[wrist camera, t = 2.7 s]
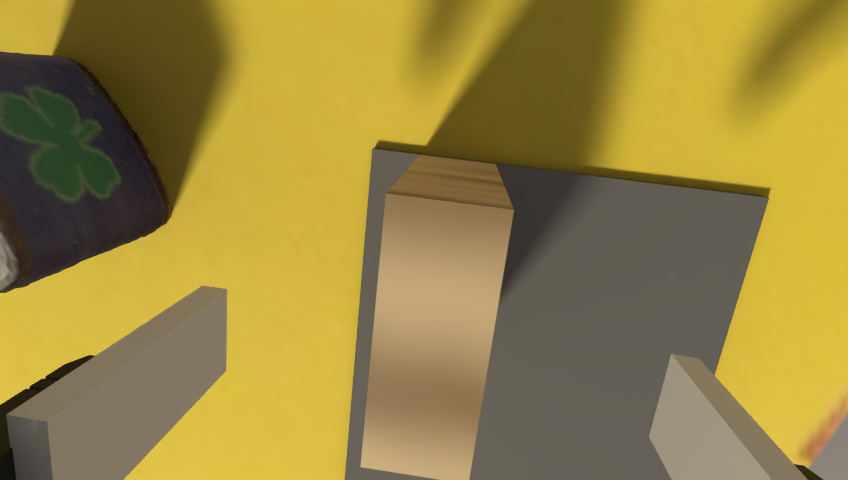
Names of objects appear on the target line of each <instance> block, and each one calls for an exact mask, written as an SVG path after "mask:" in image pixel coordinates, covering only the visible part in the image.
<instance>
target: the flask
mask: <svg viewBox="0 0 848 480" xmlns="http://www.w3.org/2000/svg"><path fill="white" fill-rule="evenodd" d="M170 218H171V204H170V203H169V199H168V194H167V191H166V188H165V187H164V184H163V183H162V181H161V178H160V176H159V173H158V170H157V168H156V166H154V165H153V162H152V157H151V156H149V153H148V150H147V149H146V148H145V147H144V146H143V144H142V143H141V139H140V138H139V137H138V135H137V134H136V133H134V132H133V130H132V129H131V127H130V125H129V123H128V121H127V120H126V119H125V117H124V116H123V115H122V113H121V111H120V110H119V109H118V108H117V105H116V103H114V102H113V101H112V99H111V97H110V96H109V94H108V93H106V90H105V89H104V88H103V87H102V86H101V84H100V82H99V81H98V80H97V79H96V77H95V76H93V75H92V73H90V72H89V71H88V70H87V69H86V68H85V67H84V66H83V65H81V64H79V63H77V62H76V61H75V60H70V59H68V58H65V57H62V56H58V55H53V56H49V55H34V54H21V53H7V52H0V293H6V292H8V291H11V290H13V289H15V288H21V287H25V286H28V285H29V284H31V283H33V282H35V281H38V280H40V279H42V278H44V277H47V276H50V275H52V274H55V273H58V272H60V271H62V270H64V269H66V268H69V267H71V266H74V265H76V264H77V263H79V262H81V261H83V260H86V259H88V258H91V257H93V256H96V255H99V254H101V253H104V252H107V251H110V250H112V249H114V248H116V247H119V246H121V245H123V244H127V243H130V242H132V241H134V240H136V239H138V238H141V237H145V236H147V235H148V234H151V233H153V232H154V231H155V230H157V229H158V228H159V227H161V226H162V225H164V224H166V223H167V222H168V220H169V219H170Z"/></svg>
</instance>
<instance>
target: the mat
mask: <svg viewBox="0 0 848 480" xmlns="http://www.w3.org/2000/svg"><path fill="white" fill-rule="evenodd" d="M420 155H426V154H418V153H410V152H402V151H394V150H385V149H377V148H373V149H372V160H371V172H370V184H369V196H368V208H367V220H366V232H365V244H364V256H363V268H362V280H361V292H360V304H359V316H358V328H357V340H356V352H355V364H354V376H353V388H352V400H351V412H350V424H349V436H348V448H347V460H346V472H345V480H439V479H432V478H426V477H420V476H413V475H407V474H401V473H394V472H388V471H382V470H375V469H369V468H363V467H360V466H361V456H362V445H363V434H364V423H365V413H366V402H367V391H368V380H369V370H370V359H371V348H372V337H373V327H374V316H375V305H376V294H377V284H378V273H379V262H380V251H381V240H382V230H383V219H384V208H385V197H386V193H387V192H388V190H389V189H390V188H391V187H392V186H393V185H394V184H395V183H396V181H397V180H398V179H399V178H400V177H401V176H402V175H403V174H404V172H405V171H406V170H407V169H408V168H409V167H410V166H411V165H412V164H413V162H414V161H415V160H416V159H417V158H418V157H419V156H420ZM426 156H434V155H426ZM434 157H442V156H434ZM442 158H450V157H442ZM450 159H458V158H450ZM458 160H466V159H458ZM466 161H474V160H466ZM474 162H482V161H474ZM482 163H491V162H482ZM491 164H496V166H497V169H498V171H499V174H500V176H501V179H502V181H503V184H504V186H505V189H506V191H507V194H508V196H509V199H510V201H511V204H512V206H513V208H514V213H513V219H512V225H511V231H510V237H509V243H508V249H507V255H506V261H505V267H504V273H503V279H502V286H501V292H500V298H499V304H498V310H497V316H496V322H495V328H494V334H493V340H492V346H491V352H490V358H489V364H488V370H487V376H486V382H485V388H484V394H483V400H482V406H481V412H480V418H479V424H478V430H477V436H476V442H475V448H474V454H473V460H472V466H471V472H470V478H469V480H672V479H671V478H670V476H669V474H668V472H667V470H666V468H665V466H664V464H663V462H662V461H661V459H660V457H659V455H658V453H657V451H656V449H655V447H654V445H653V444H652V442H651V440H650V438H649V434H650V431H651V427H652V423H653V420H654V416H655V412H656V409H657V405H658V401H659V397H660V394H661V390H662V386H663V383H664V379H665V375H666V371H667V368H668V364H669V360H670V357H671V354H675V355H682V356H689V357H695V358H699V359H700V360H701V361H702V362H703V363H704V364H705V366H706V367H707V368H708V369H709V370H710V371H711V372H712V373H713V374H714V375H715V371H716V368H717V365H718V362H719V358H720V355H721V352H722V349H723V346H724V342H725V339H726V336H727V333H728V329H729V326H730V323H731V320H732V316H733V313H734V310H735V307H736V303H737V300H738V297H739V294H740V290H741V287H742V284H743V281H744V277H745V274H746V271H747V268H748V264H749V261H750V258H751V255H752V251H753V248H754V245H755V242H756V238H757V235H758V232H759V229H760V226H761V222H762V219H763V216H764V213H765V209H766V206H767V203H768V200H769V198H768V197H764V196H757V195H749V194H741V193H733V192H725V191H717V190H709V189H701V188H693V187H685V186H676V185H668V184H660V183H652V182H644V181H636V180H628V179H620V178H612V177H604V176H596V175H588V174H579V173H571V172H563V171H555V170H547V169H539V168H531V167H523V166H515V165H507V164H499V163H491Z"/></svg>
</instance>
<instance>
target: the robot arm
mask: <svg viewBox="0 0 848 480" xmlns="http://www.w3.org/2000/svg"><path fill="white" fill-rule="evenodd" d="M226 338H227V289H222V288H215V287H208V286H201V287H200V288H198V289H197V290H195V291H194V292H192V293H191V294H189V295H188V296H186V297H185V298H183V299H182V300H180V301H178V302H177V303H175V304H174V305H172V306H171V307H169V308H168V309H166V310H165V311H163V312H162V313H160V314H159V315H157V316H156V317H154V318H153V319H151V320H150V321H148V322H146V323H145V324H143V325H142V326H140V327H139V328H137V329H136V330H134V331H133V332H131V333H130V334H128V335H127V336H125V337H124V338H122V339H121V340H119V341H118V342H116V343H115V344H113V345H111V346H110V347H108V348H107V349H105V350H104V351H102V352H101V353H99V354H98V355H96V356H92V355H89V356H86V357H83V358H81V359H78V360H75V361H73V362H70V363H67V364H65V365H63V366H62V367H60V368H58V369H57V370H55V371H54V372H52V373H50V374H49V375H47V376H46V378H45V379H41V380H39V381H38V382H36V383H34V384H33V385H31V386H30V388H29V389H25V390H23V391H22V392H20V393H19V394H17V395H15V396H14V397H12V398H11V399H9V400H7V401H6V402H4V403H3V404H1V405H0V480H123V479H124V478H125V477H126V476H127V475H128V474H129V473H130V472H131V471H132V470H133V469H134V468H135V467H136V466H137V465H138V464H139V463H140V461H141V460H142V459H143V458H144V457H145V456H146V455H147V454H148V453H149V452H150V451H151V450H152V449H153V448H154V447H155V446H156V444H157V443H158V442H159V441H160V440H161V439H162V438H163V437H164V436H165V435H166V434H167V433H168V432H169V431H170V430H171V429H172V428H173V426H174V425H175V424H176V423H177V422H178V421H179V420H180V419H181V418H182V417H183V416H184V415H185V414H186V413H187V412H188V411H189V409H190V408H191V407H192V406H193V405H194V404H195V403H196V402H197V401H198V400H199V399H200V398H201V397H202V396H203V395H204V394H205V393H206V391H207V390H208V389H209V388H210V387H211V386H212V385H213V384H214V383H215V382H216V381H217V380H218V379H219V378H220V377H221V376H222V374H223V373H224V372H225V371H226ZM649 438H650V440H651V442H652V444H653V445H654V447H655V449H656V451H657V453H658V455H659V457H660V459H661V461H662V462H663V464H664V466H665V468H666V470H667V472H668V474H669V476H670V478H671V479H672V480H823V479H822V478H820V477H819V476H817V475H816V474H815V473H813V472H812V471H810V470H809V469H808V468H806V467H805V466H802V465H796V464H793V463H792V462H791V460H790V459H789V458H788V457H787V456H786V455H785V454H784V453H783V452H782V450H781V449H780V448H779V447H778V446H777V445H776V444H775V443H774V441H773V440H772V439H771V438H770V437H769V436H768V435H767V434H766V433H765V431H764V430H763V429H762V428H761V427H760V426H759V425H758V424H757V422H756V421H755V420H754V419H753V418H752V417H751V416H750V415H749V414H748V412H747V411H746V410H745V409H744V408H743V407H742V406H741V405H740V404H739V402H738V401H737V400H736V399H735V398H734V397H733V396H732V395H731V393H730V392H729V391H728V390H727V389H726V388H725V387H724V386H723V385H722V383H721V382H720V381H719V380H718V379H717V378H716V377H715V376H714V374H713V373H712V372H711V371H710V370H709V369H708V368H707V367H706V366H705V364H704V363H703V362H702V361H701V360H700V359H699V358H695V357H689V356H682V355H675V354H671V357H670V360H669V364H668V368H667V371H666V375H665V379H664V383H663V386H662V390H661V394H660V397H659V401H658V405H657V409H656V412H655V416H654V420H653V423H652V427H651V431H650V434H649Z"/></svg>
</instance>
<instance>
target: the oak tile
mask: <svg viewBox="0 0 848 480" xmlns="http://www.w3.org/2000/svg"><path fill="white" fill-rule="evenodd" d="M513 213H514V208H513V206H512V204H511V201H510V199H509V196H508V194H507V191H506V189H505V186H504V184H503V181H502V179H501V176H500V174H499V171H498V169H497V166H496V164H491V163H482V162H474V161H466V160H458V159H450V158H442V157H434V156H426V155H420V156H419V157H418V158H417V159H416V160H415V161H414V162H413V164H412V165H411V166H410V167H409V168H408V169H407V170H406V171H405V172H404V174H403V175H402V176H401V177H400V178H399V179H398V180H397V181H396V183H395V184H394V185H393V186H392V187H391V188H390V189H389V190H388V192H387V193H386V197H385V208H384V219H383V230H382V240H381V251H380V262H379V273H378V284H377V294H376V305H375V316H374V327H373V337H372V348H371V359H370V370H369V380H368V391H367V402H366V413H365V423H364V434H363V445H362V456H361V466H360V467H363V468H369V469H375V470H382V471H388V472H394V473H401V474H407V475H413V476H420V477H426V478H432V479H439V480H469V478H470V472H471V466H472V460H473V454H474V448H475V442H476V436H477V430H478V424H479V418H480V412H481V406H482V400H483V394H484V388H485V382H486V376H487V370H488V364H489V358H490V352H491V346H492V340H493V334H494V328H495V322H496V316H497V310H498V304H499V298H500V292H501V286H502V279H503V273H504V267H505V261H506V255H507V249H508V243H509V237H510V231H511V225H512V219H513Z"/></svg>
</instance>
